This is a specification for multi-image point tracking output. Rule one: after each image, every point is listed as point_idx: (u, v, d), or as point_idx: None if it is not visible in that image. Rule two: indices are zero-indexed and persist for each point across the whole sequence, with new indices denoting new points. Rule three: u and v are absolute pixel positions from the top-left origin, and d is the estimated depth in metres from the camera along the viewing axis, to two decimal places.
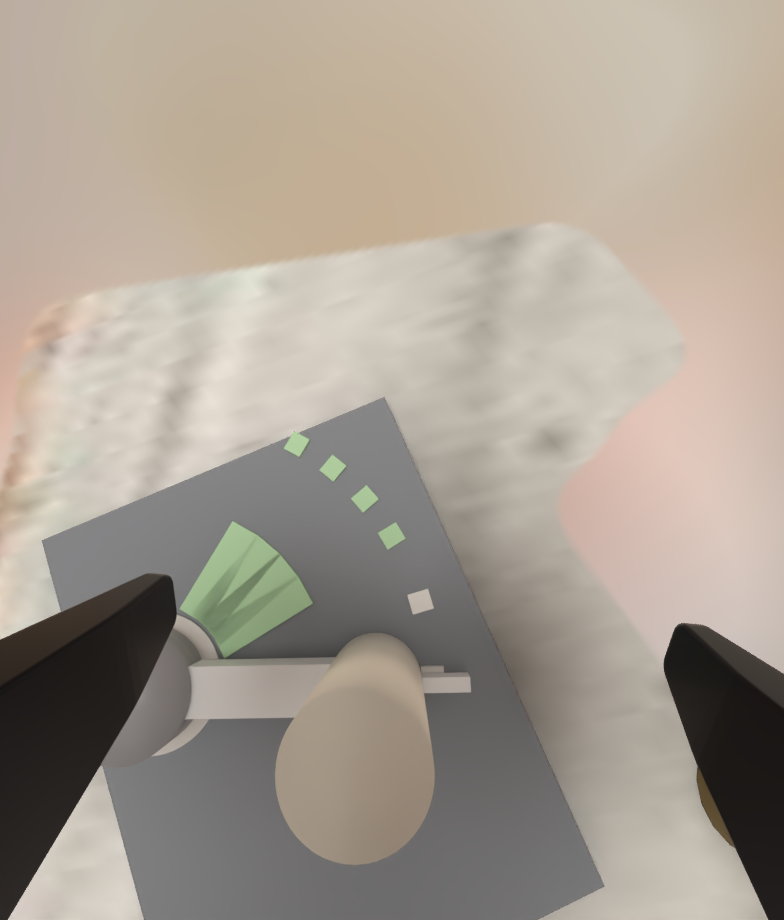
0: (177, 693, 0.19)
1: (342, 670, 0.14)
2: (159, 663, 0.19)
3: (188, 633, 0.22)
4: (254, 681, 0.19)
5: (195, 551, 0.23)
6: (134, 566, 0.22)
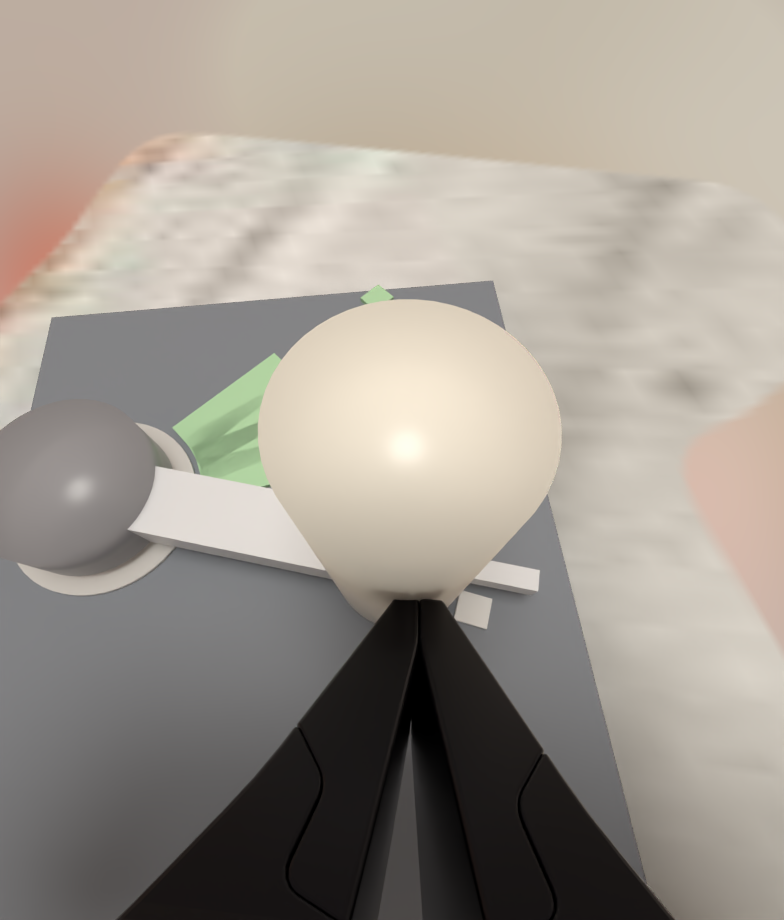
0: (130, 485, 0.13)
1: None
2: (120, 443, 0.14)
3: (171, 457, 0.16)
4: (237, 501, 0.14)
5: (217, 374, 0.18)
6: (140, 370, 0.18)
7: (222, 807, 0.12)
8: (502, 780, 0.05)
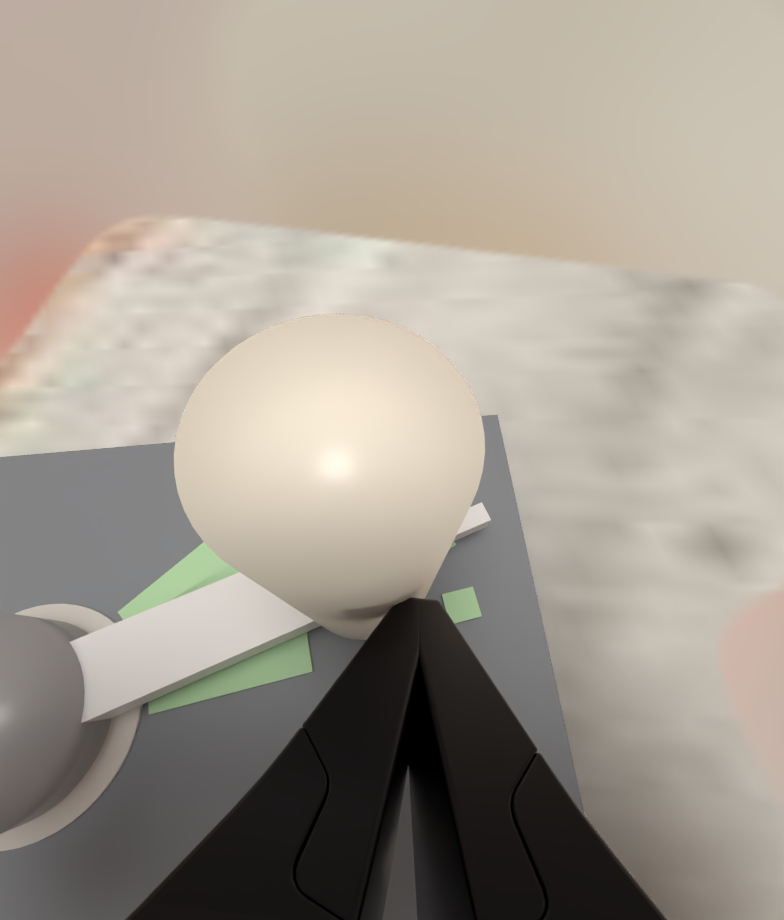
0: (55, 678, 0.11)
1: None
2: (14, 645, 0.12)
3: None
4: (181, 619, 0.12)
5: (175, 537, 0.15)
6: (85, 530, 0.15)
7: None
8: (495, 780, 0.05)
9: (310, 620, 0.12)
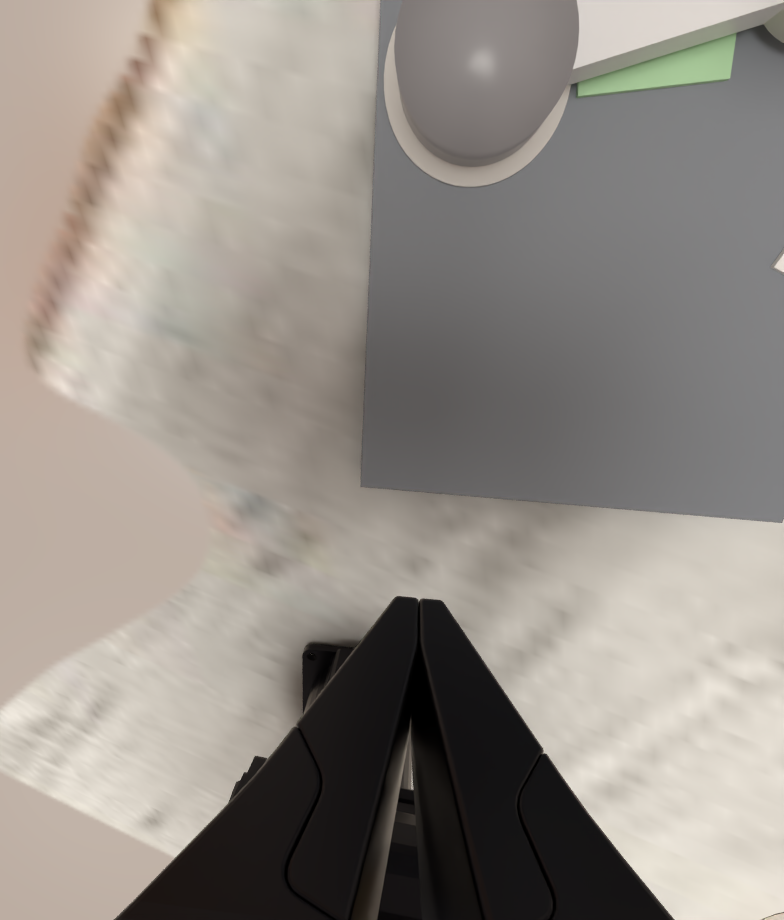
0: (566, 12, 0.13)
1: None
2: None
3: None
4: None
5: None
6: None
7: (554, 366, 0.18)
8: (501, 780, 0.05)
9: None
